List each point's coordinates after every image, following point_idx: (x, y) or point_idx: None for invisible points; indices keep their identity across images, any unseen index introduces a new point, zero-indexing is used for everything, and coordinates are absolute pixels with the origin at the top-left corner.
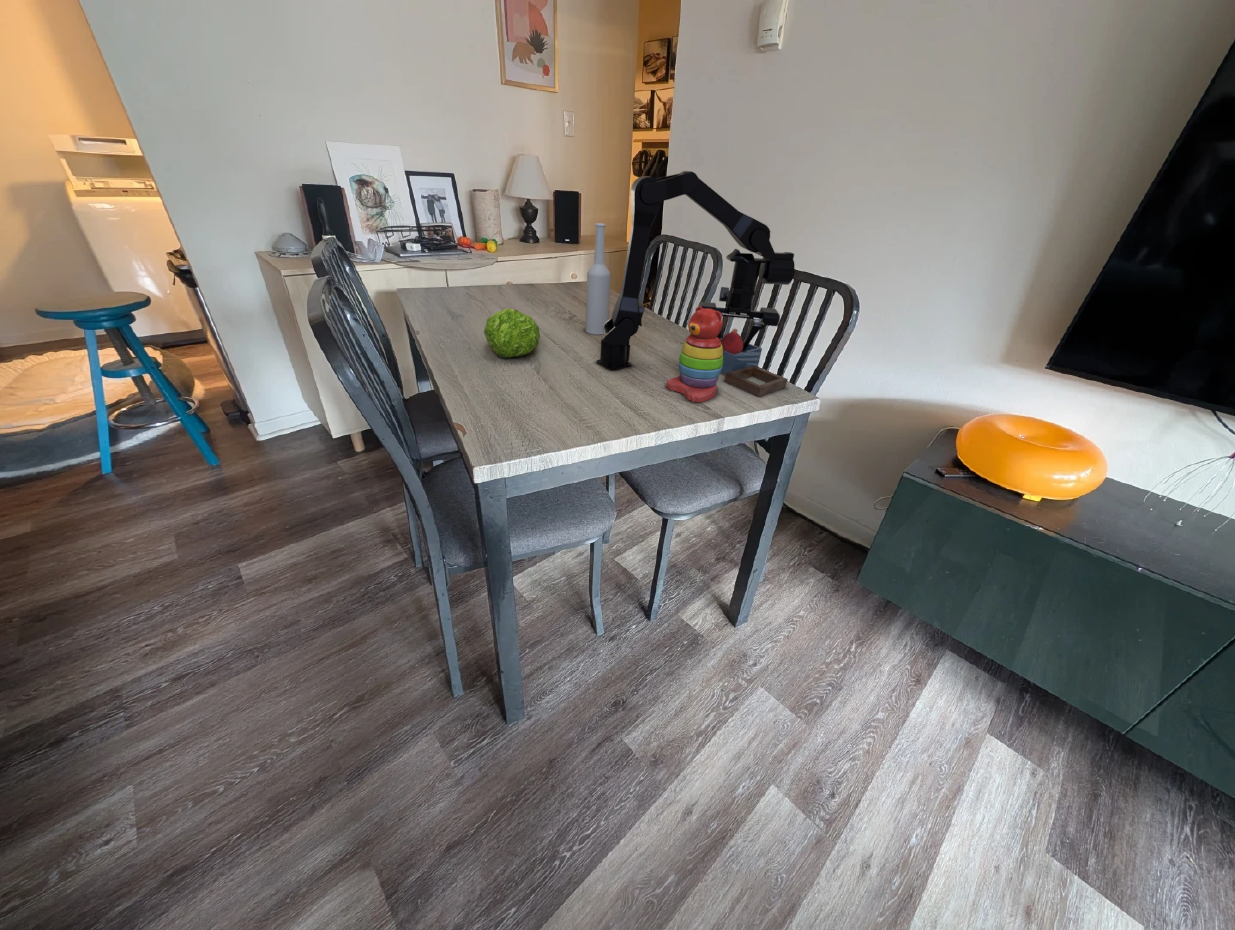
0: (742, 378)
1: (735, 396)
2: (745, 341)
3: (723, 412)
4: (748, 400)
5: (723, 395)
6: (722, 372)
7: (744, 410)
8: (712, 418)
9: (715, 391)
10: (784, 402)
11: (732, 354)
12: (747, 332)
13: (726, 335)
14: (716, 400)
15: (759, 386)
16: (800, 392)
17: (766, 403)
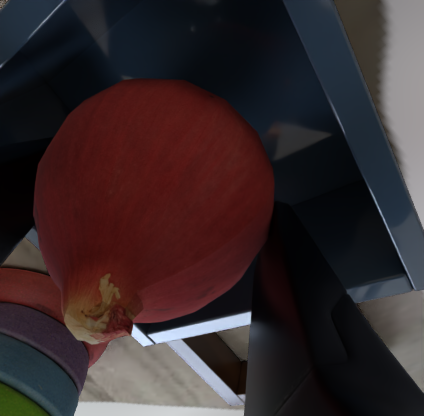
0: (190, 354)
1: (165, 356)
2: (257, 299)
3: (120, 394)
4: (197, 376)
5: (131, 346)
6: None
7: (170, 400)
8: (96, 401)
9: (98, 358)
10: None
11: (134, 336)
12: (287, 340)
13: (43, 256)
14: (109, 360)
15: (230, 400)
16: (421, 383)
17: None
